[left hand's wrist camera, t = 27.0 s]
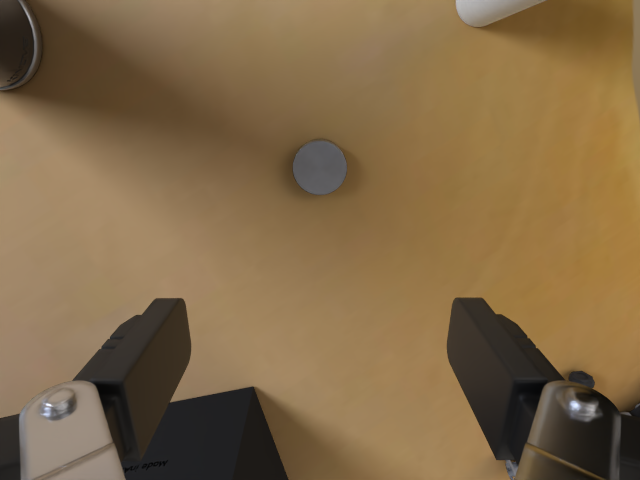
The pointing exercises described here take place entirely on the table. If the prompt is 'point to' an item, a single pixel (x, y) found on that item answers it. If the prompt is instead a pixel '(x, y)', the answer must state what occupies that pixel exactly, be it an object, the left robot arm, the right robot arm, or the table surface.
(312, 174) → the lid
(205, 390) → the table surface
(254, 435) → the cardboard box
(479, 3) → the white long cylinder
